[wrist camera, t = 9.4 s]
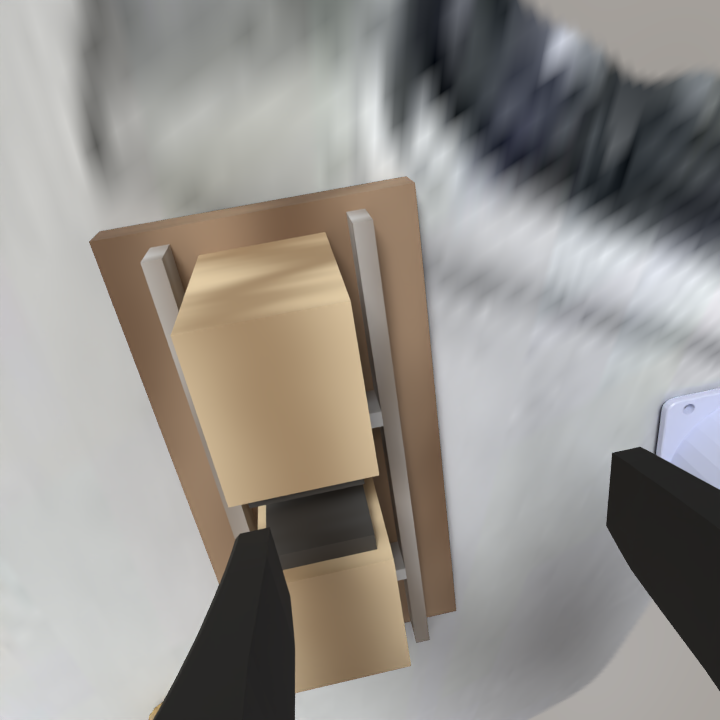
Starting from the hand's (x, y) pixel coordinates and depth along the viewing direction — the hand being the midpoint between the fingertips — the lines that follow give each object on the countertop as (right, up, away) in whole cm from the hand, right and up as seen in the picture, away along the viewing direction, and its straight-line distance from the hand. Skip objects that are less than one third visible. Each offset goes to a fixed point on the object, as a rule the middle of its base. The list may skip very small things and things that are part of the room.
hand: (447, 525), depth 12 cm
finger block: (-3, -2, +11) cm, 12 cm away
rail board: (-4, 0, +11) cm, 12 cm away
